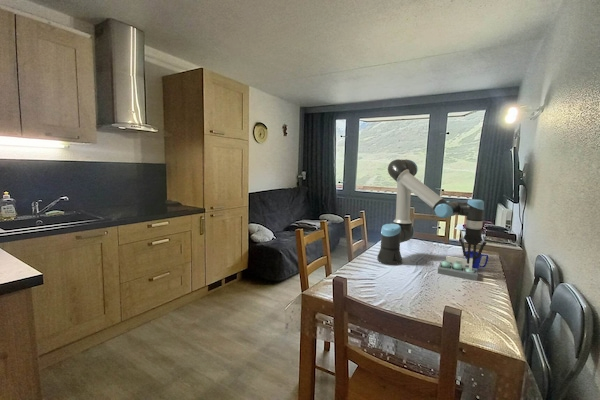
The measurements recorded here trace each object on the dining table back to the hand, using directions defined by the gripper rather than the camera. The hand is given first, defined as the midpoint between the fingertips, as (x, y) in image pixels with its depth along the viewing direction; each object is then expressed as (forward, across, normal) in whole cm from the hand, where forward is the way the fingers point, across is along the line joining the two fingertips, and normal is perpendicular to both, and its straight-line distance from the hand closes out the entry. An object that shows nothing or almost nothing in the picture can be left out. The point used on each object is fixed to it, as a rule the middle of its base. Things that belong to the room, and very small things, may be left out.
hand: (470, 269), depth 154 cm
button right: (+3, 0, 0) cm, 3 cm away
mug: (+4, +3, +13) cm, 14 cm away
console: (+4, -6, 0) cm, 7 cm away
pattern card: (+4, -6, +8) cm, 10 cm away
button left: (+1, -12, 0) cm, 12 cm away
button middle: (+1, -6, 0) cm, 6 cm away
